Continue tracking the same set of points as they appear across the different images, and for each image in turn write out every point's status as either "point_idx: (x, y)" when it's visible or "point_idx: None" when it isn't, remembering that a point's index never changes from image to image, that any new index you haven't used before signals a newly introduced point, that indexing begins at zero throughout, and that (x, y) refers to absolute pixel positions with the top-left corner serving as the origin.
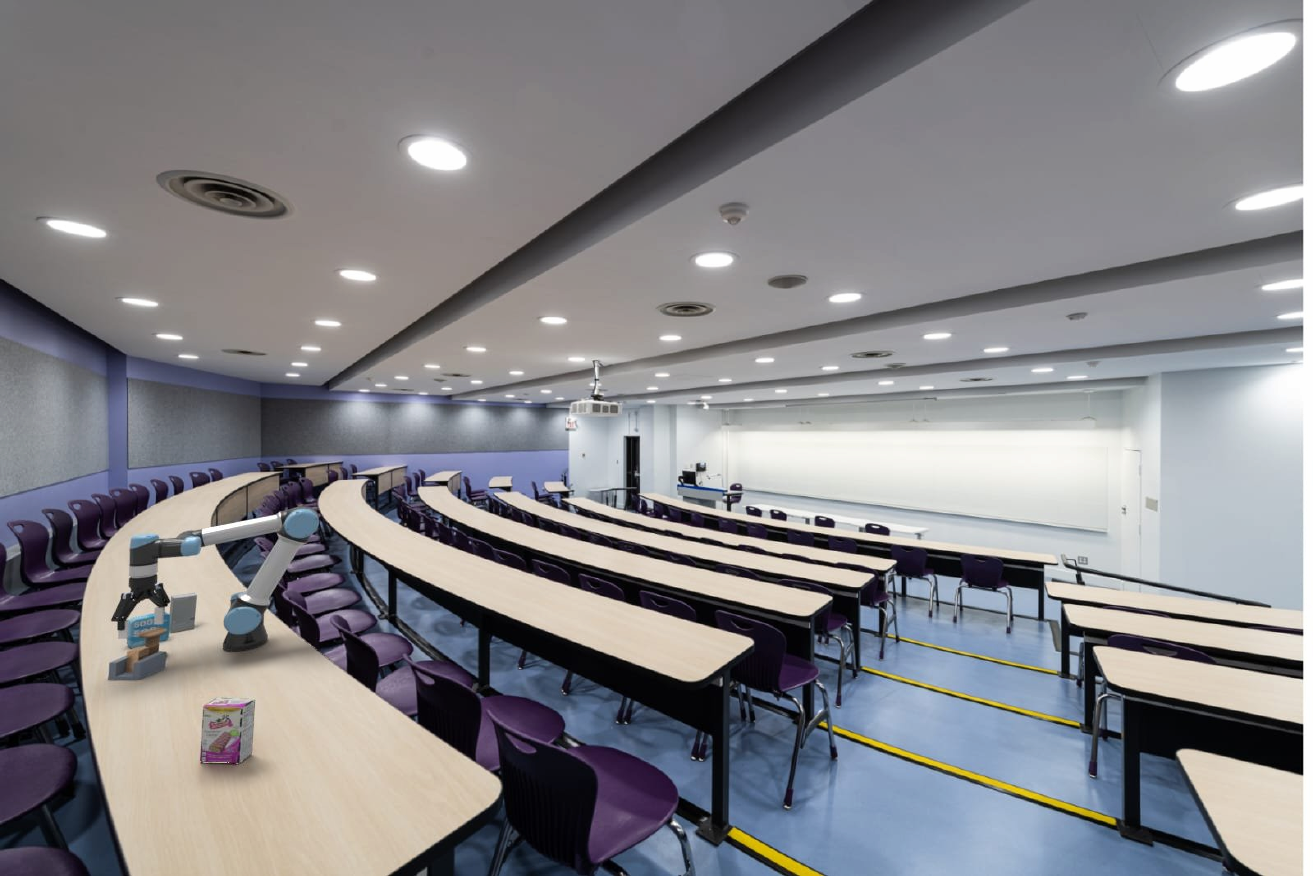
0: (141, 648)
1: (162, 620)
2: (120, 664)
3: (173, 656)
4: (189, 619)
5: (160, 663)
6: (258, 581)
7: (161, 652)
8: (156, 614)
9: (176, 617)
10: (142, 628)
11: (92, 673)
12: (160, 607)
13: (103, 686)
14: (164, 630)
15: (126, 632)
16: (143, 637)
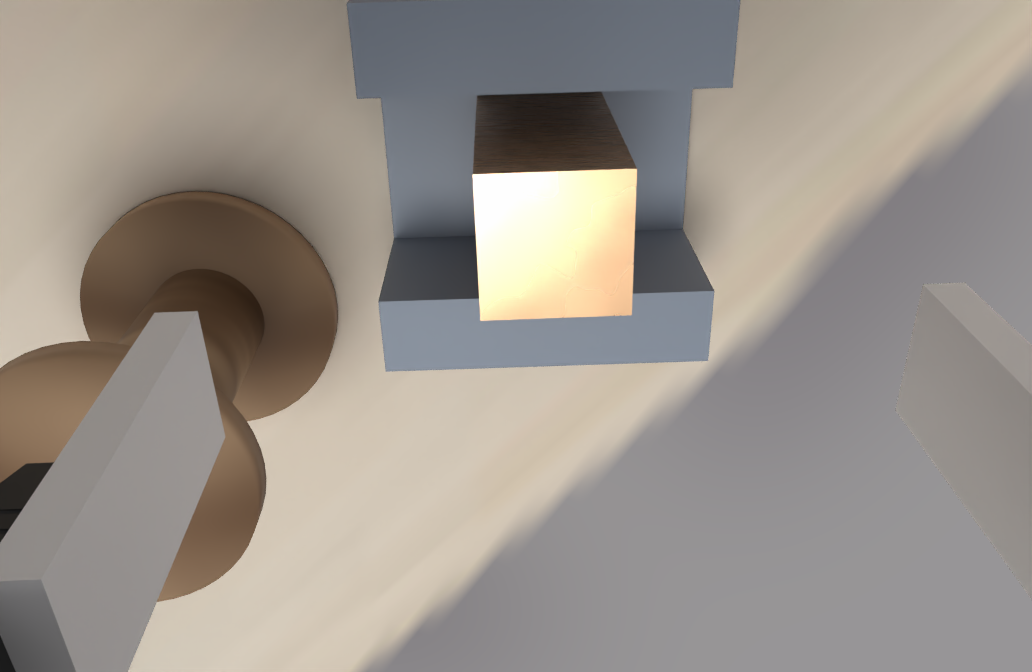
0: (531, 226)
1: (150, 354)
2: (652, 275)
3: (105, 149)
4: None
5: None
6: None
7: (386, 37)
8: (150, 553)
9: None
10: None
11: (548, 498)
12: (19, 648)
13: (813, 190)
14: (19, 393)
15: (1029, 346)
16: (262, 466)
